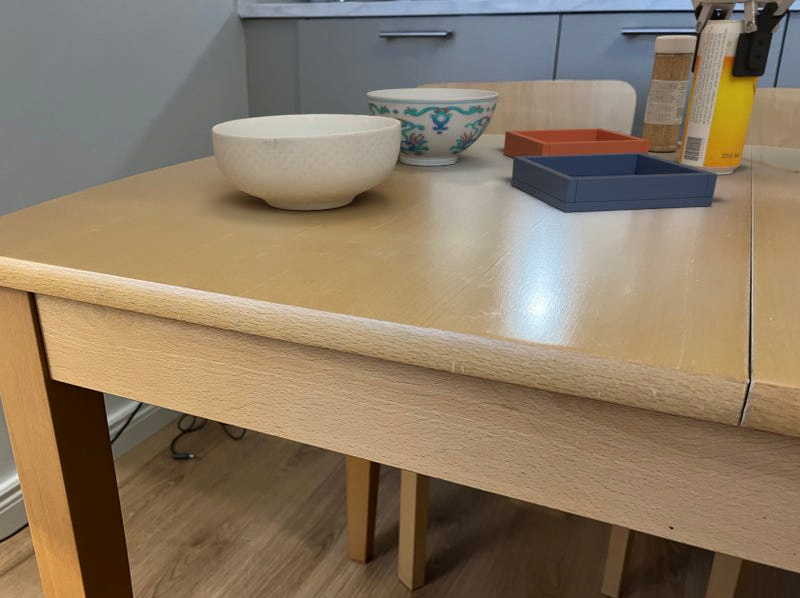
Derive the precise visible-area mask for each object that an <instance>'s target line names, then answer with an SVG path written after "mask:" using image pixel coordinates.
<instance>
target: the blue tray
mask: <svg viewBox="0 0 800 598" xmlns="http://www.w3.org/2000/svg"><path fill="white" fill-rule="evenodd" d="M717 180H718V174H716V173H712V172H709V171H705V170H702V169H698V168H695V167H691V166H687V165H684V164H680V163H679V162H678V161H673V160H669V159H666V158H662V157H659V156H655V155H651V154H649V153H648V154H645V153H610V154H579V155H548V156H522V157H521V156H518V157H514V158H513V162H512V173H511V184H510V185H511V186H513V187H515V188H517V189H519V190H521V191H523V192H525V193H527V194H529V195H531V196H533V197H535V198H537V199H539V200H541V201H542V202H545V203H547V204H549V205H550V206H552V207H554V208H557V209H558V210H560V211H562V212H564V213H576V212H577V213H578V212H580V213H581V212H600V211H625V210H627V211H628V210H648V209H670V208H674V209H675V208H695V207H712V204H713V200H714V194H715V190H716V186H717V185H716V184H717Z"/></svg>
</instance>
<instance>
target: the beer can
mask: <svg viewBox="0 0 800 598" xmlns="http://www.w3.org/2000/svg"><path fill="white" fill-rule="evenodd" d="M740 33H746V31H745V19H729V20H708V22H707V25H706V26H705V28H704V29H703V31H702V32H701V37H700V42H699V48H698V54H697V59H696V65H695V70H694V73H693V76H692V82H691V86H690V93H689V100H688V105H687V110H686V115H685V121H684V127H683V131H682V138H681V143H680V147H679V155H678V159H677V163H680V164H684V165H687V166H691V167H695V168H698V169H702V170H705V171H709V172H712V173H716V174H718V175H719V176H720V175H731V174H733V173H734V171H735V170H736V169H737V168H738V167H740V165H741V161H742V157H743V152H744V148H745V144H746V143H745V142H746V138H747V133H748V129H749V125H750V119H751V115H752V110H753V105H754V101H755V96H756V91H757V87H758V83H759V77H733V76H732V68H733V63H734V58H735V53H736V48H737V43H738V38H739V34H740ZM718 175H717V176H718Z"/></svg>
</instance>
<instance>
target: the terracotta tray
mask: <svg viewBox="0 0 800 598" xmlns="http://www.w3.org/2000/svg"><path fill="white" fill-rule="evenodd" d="M503 144H504V146H503V155H505V156H508V157H510V158H513V159H514V157H518V156H521V157H522V156H548V155H579V154H610V153H645V154H648V155H649V152H650V151H649V145H650V140H646V139H642V137H638V136H634V135H629V134H626V133H622V132H617V131H613V130H610V129H606V128H602V127H599V128H597V127H596V128H595V127H594V128H565V129H563V128H562V129H560V128H559V129H529V130H527V129H526V130H525V129H524V130H506V131H505V134H504V143H503Z"/></svg>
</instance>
